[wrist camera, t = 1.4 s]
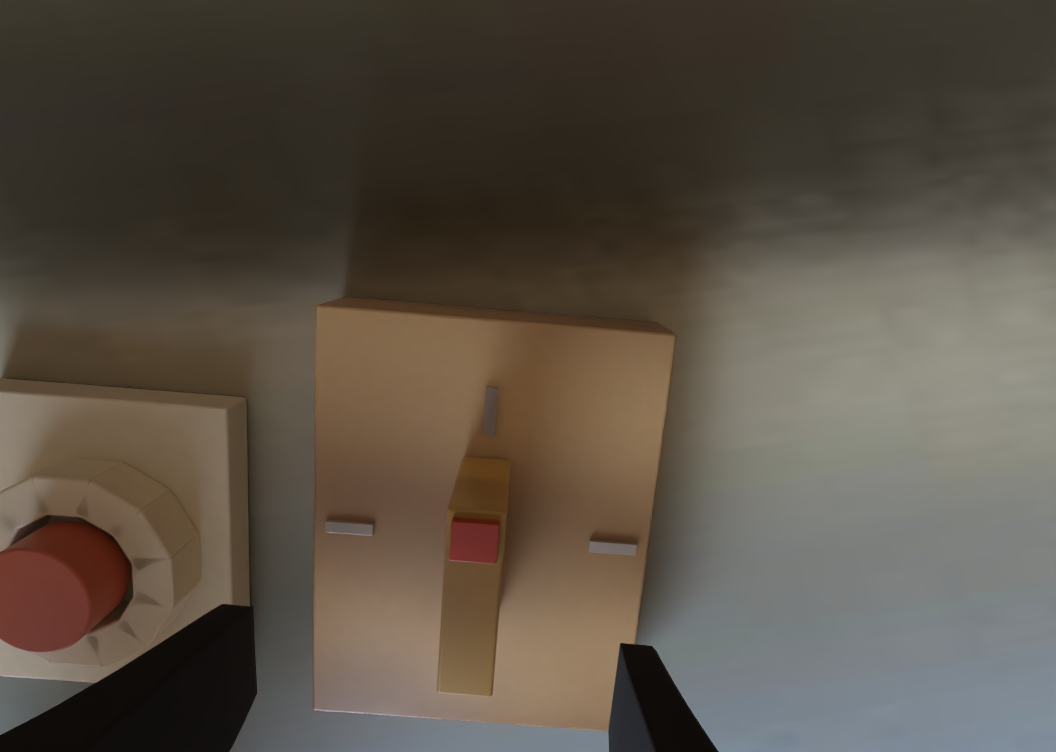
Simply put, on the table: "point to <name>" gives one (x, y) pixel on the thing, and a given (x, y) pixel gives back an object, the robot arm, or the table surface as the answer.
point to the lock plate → (533, 504)
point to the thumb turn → (473, 577)
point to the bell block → (129, 506)
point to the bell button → (59, 585)
